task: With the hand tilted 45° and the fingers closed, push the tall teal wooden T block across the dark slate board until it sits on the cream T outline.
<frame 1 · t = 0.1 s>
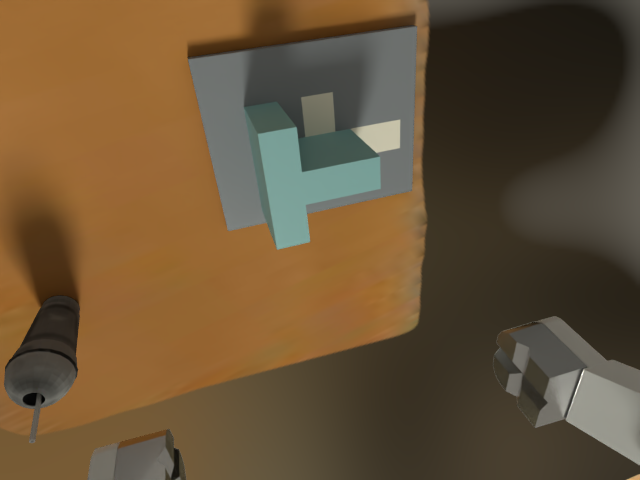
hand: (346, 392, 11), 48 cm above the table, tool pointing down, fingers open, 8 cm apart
slate board: (314, 132, 58), on the table
beverage cup: (61, 307, 61), on the table
tee block: (269, 159, 57), point 1 cm above the table, touching slate board
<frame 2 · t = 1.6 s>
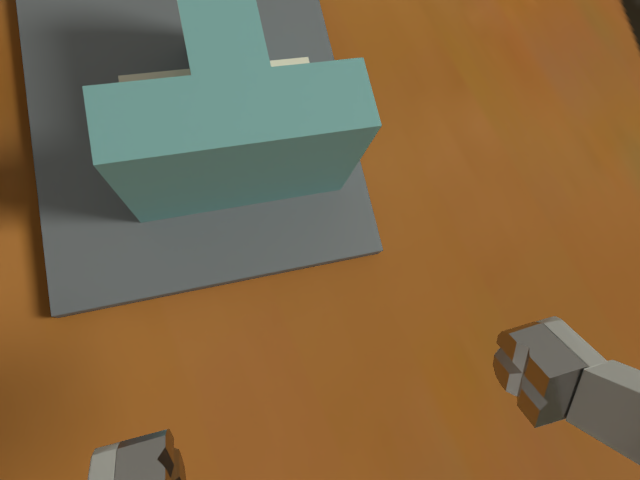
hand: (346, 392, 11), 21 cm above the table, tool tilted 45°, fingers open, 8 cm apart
slate board: (197, 107, 34), on the table
tee block: (240, 178, 32), point 1 cm above the table, touching slate board
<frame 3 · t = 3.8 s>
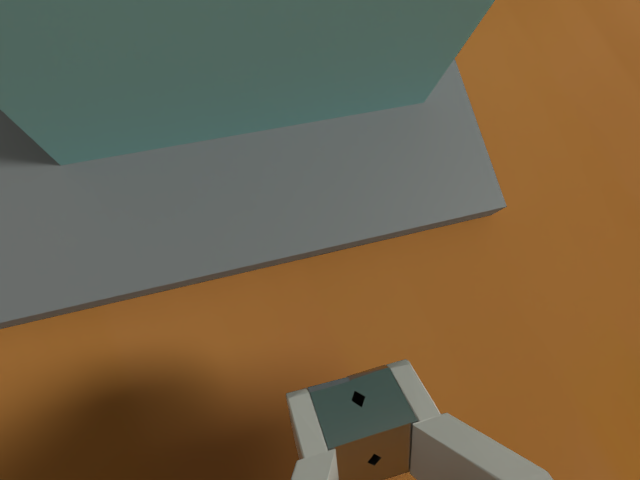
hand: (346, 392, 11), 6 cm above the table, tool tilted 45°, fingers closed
tee block: (244, 85, 18), point 1 cm above the table, touching slate board
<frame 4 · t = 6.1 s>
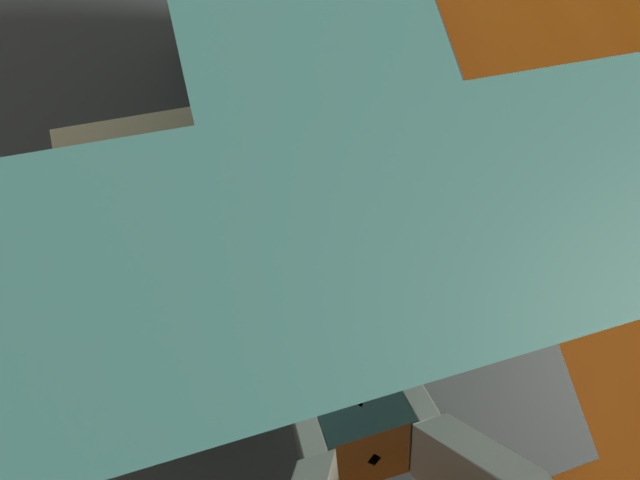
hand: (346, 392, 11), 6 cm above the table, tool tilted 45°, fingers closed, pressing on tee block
slate board: (210, 179, 17), on the table
tee block: (300, 302, 16), point 1 cm above the table, touching gripper
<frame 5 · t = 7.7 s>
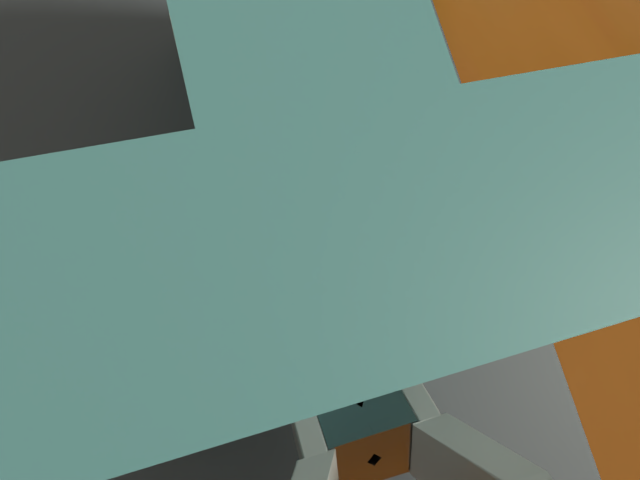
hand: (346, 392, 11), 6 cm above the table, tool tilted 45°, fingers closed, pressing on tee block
slate board: (235, 303, 17), on the table
tee block: (299, 302, 16), point 1 cm above the table, touching gripper, slate board
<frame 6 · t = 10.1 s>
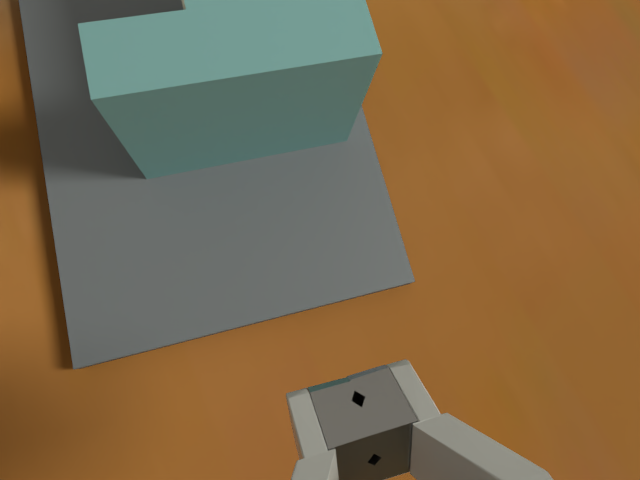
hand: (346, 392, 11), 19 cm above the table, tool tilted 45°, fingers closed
slate board: (213, 138, 32), on the table
tee block: (244, 133, 31), point 1 cm above the table, touching slate board
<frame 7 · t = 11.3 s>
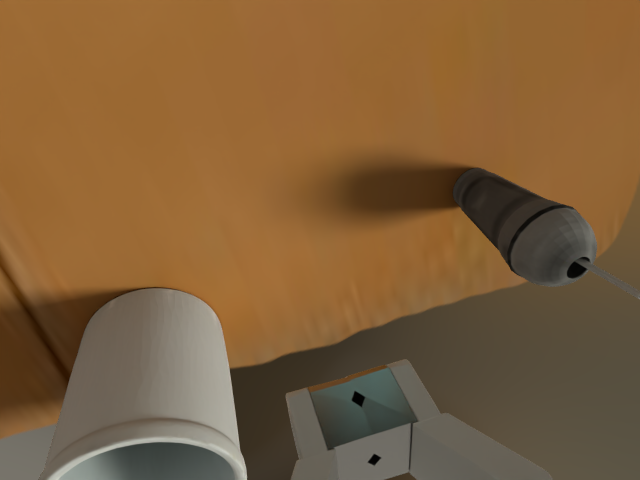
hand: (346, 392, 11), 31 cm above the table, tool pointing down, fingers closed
utensil holder: (153, 338, 47), on the table
beverage cup: (470, 186, 48), on the table
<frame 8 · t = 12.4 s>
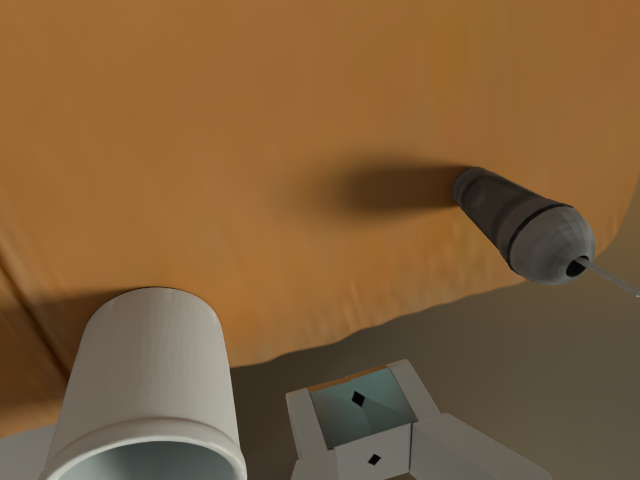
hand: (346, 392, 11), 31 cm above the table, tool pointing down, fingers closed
utensil holder: (153, 337, 47), on the table
beverage cup: (470, 185, 48), on the table
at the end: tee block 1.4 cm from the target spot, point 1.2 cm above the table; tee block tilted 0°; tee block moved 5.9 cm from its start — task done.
